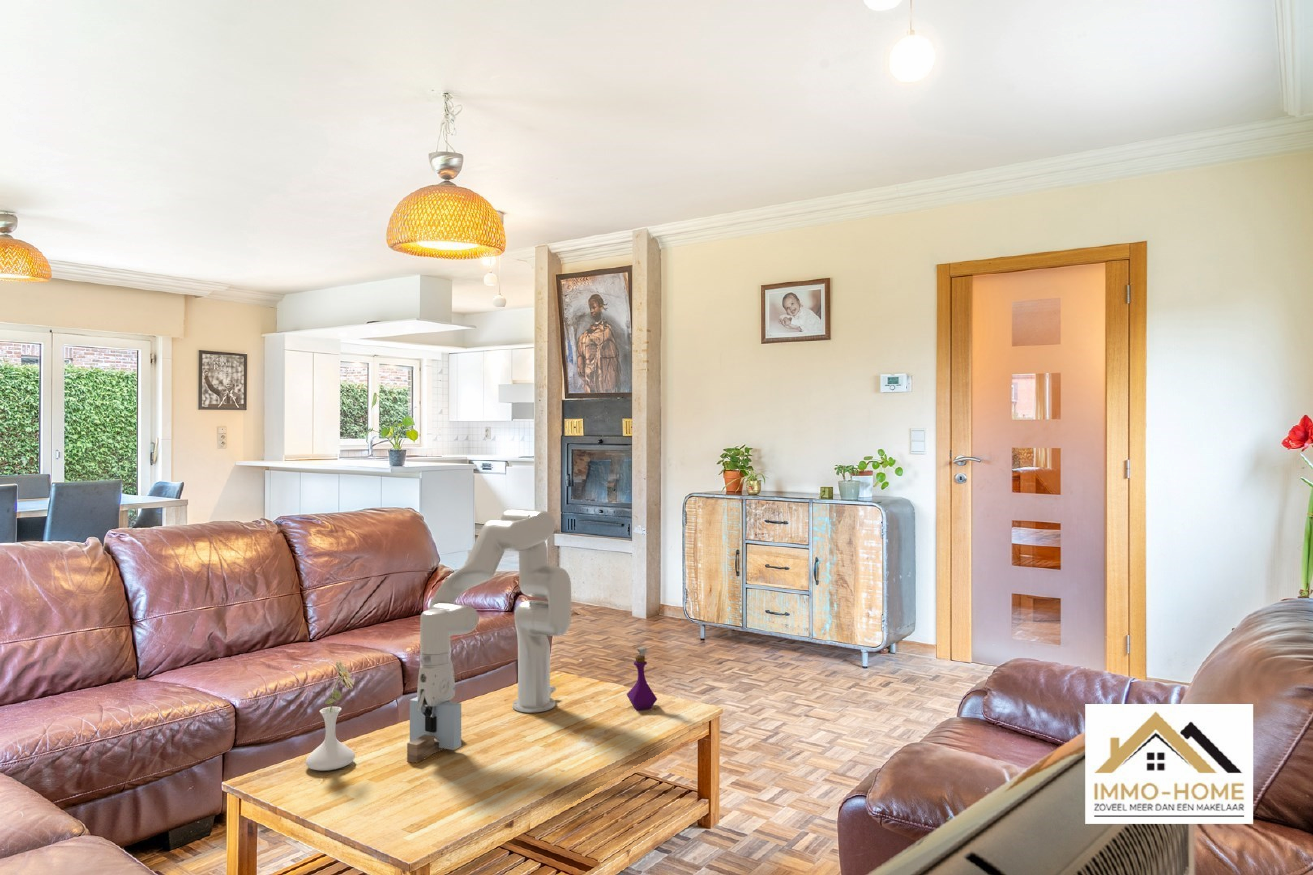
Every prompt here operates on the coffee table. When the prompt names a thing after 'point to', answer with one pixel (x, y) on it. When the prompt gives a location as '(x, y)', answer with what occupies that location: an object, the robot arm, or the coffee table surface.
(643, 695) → the perfume bottle
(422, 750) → the brown notched bar
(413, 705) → the blue grey notched plate
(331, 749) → the flower in vase
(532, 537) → the robot arm
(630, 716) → the coffee table surface
